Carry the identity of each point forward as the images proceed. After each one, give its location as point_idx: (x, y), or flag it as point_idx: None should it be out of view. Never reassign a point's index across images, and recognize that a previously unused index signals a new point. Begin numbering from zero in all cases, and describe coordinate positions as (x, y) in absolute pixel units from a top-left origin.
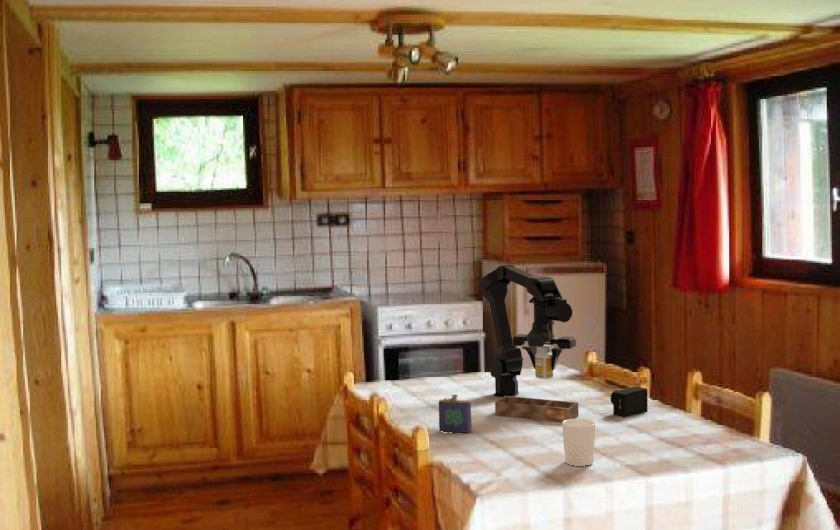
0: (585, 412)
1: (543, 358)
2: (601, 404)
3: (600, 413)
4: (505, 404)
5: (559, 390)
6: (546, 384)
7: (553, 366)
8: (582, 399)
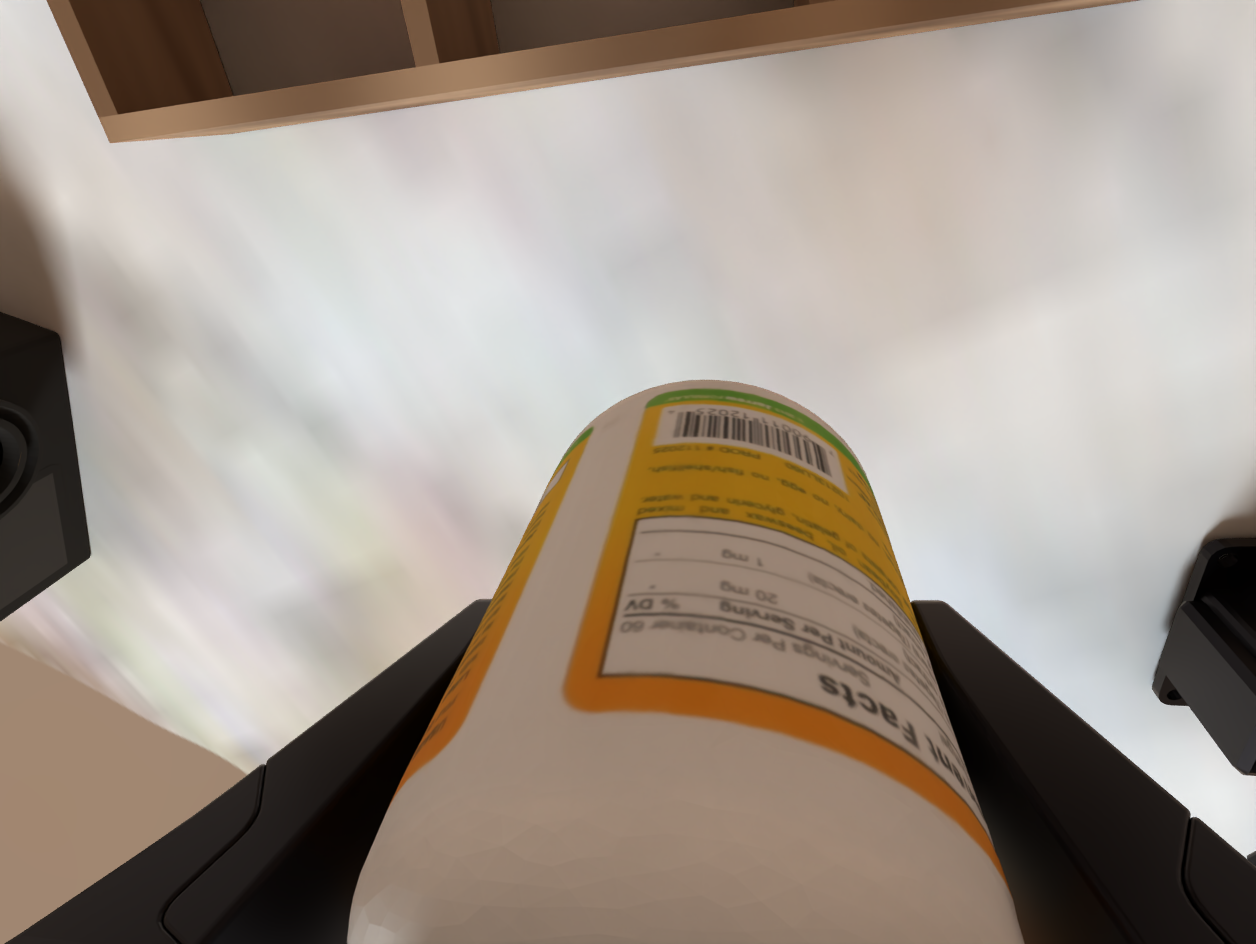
0: (274, 303)
1: (533, 724)
2: (343, 583)
3: (159, 328)
4: None
5: None
6: None
7: (426, 642)
8: None
